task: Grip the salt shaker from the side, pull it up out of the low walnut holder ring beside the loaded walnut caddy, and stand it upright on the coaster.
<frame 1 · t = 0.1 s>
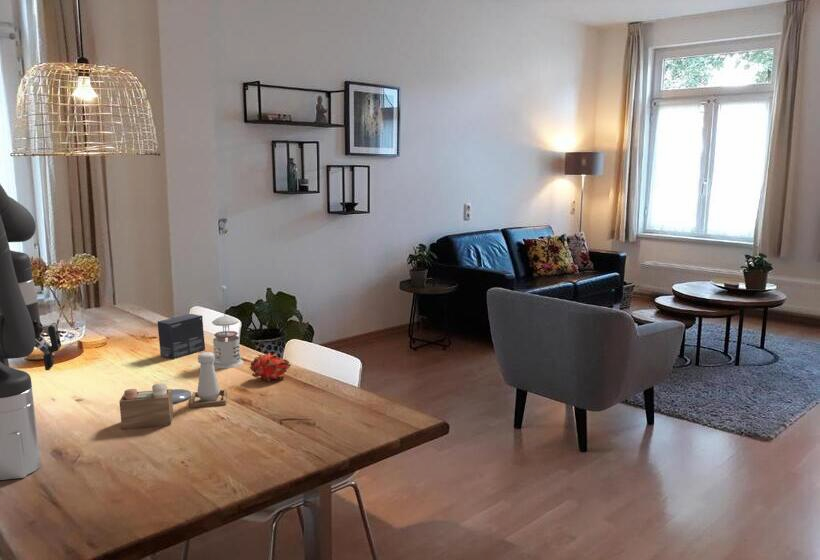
hand: (27, 370, 146), 17 cm above the table, tool pointing down, fingers open, 8 cm apart
caddy: (148, 422, 161), on the table
salt shaker: (209, 400, 175), resting in holder
holder: (209, 400, 175), on the table
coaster: (171, 397, 177), on the table
small box: (183, 353, 219), on the table
french press: (227, 363, 208), on the table
dragon fruit: (271, 379, 192), on the table
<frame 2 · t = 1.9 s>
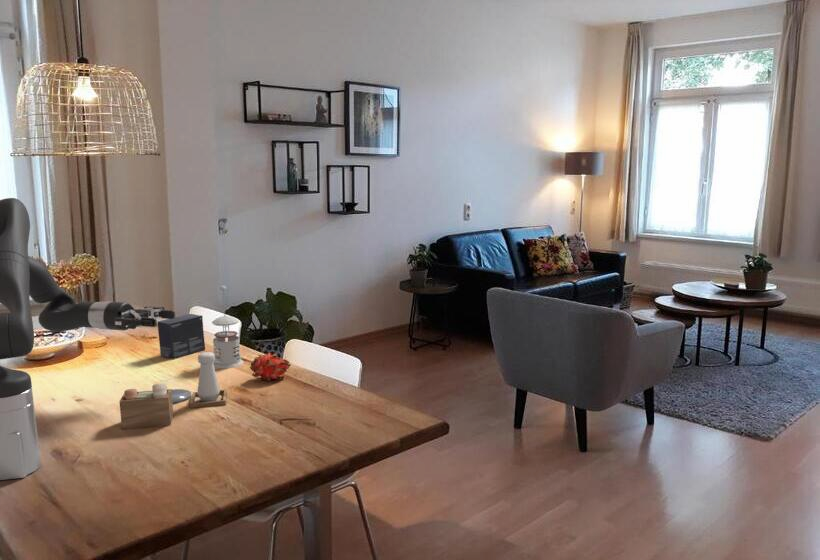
hand: (165, 318, 173), 22 cm above the table, tool horizontal, fingers open, 8 cm apart
nothing on the table moved.
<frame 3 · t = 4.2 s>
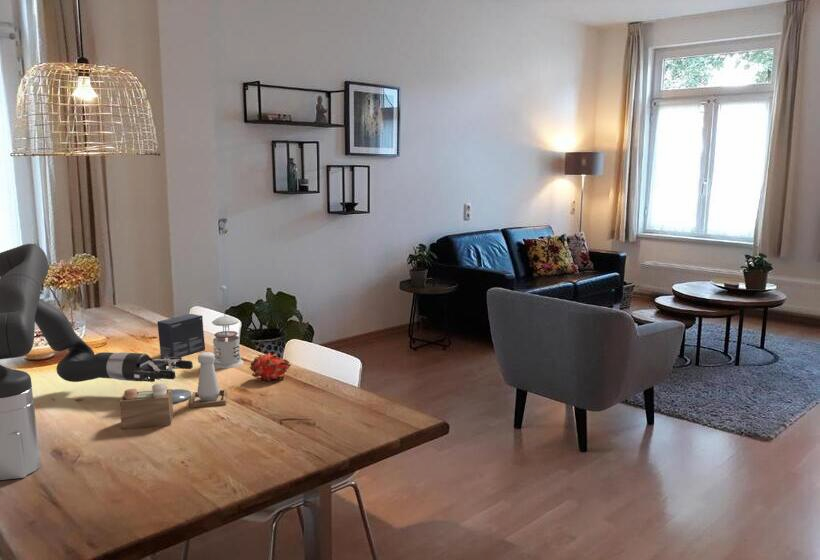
hand: (183, 369, 175), 8 cm above the table, tool horizontal, fingers open, 8 cm apart
nothing on the table moved.
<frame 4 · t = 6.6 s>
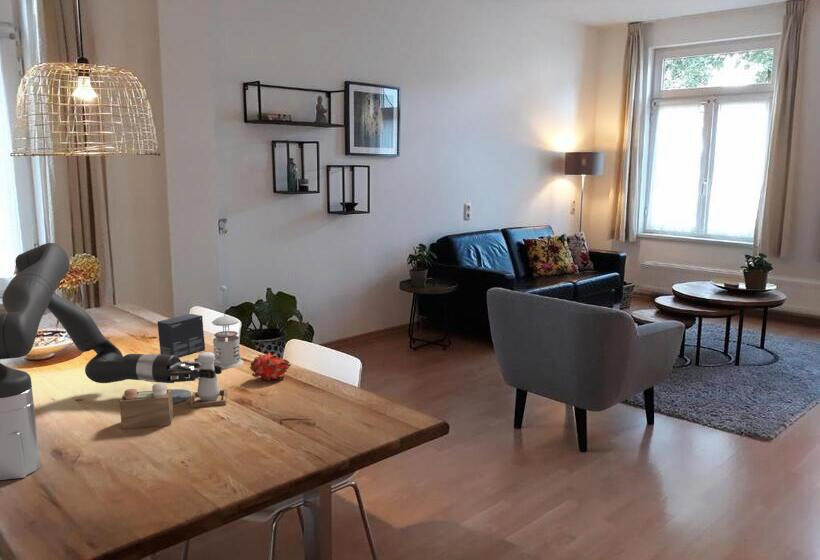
hand: (217, 371, 173), 8 cm above the table, tool horizontal, fingers closed on salt shaker, 3 cm apart
salt shaker: (209, 400, 175), resting in holder, touching gripper
everything else where it was.
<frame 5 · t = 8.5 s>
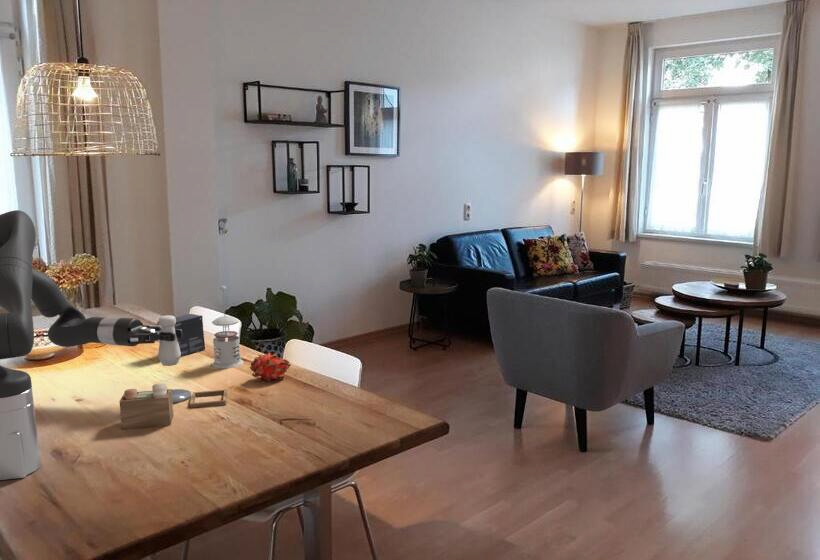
hand: (178, 335, 173), 18 cm above the table, tool horizontal, fingers closed on salt shaker, 3 cm apart
salt shaker: (170, 364, 175), point 9 cm above the table, touching gripper
everything else where it was.
when the fingers open (9 cm above the table, at t = 10.4 s): salt shaker stays where it is, resting on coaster.
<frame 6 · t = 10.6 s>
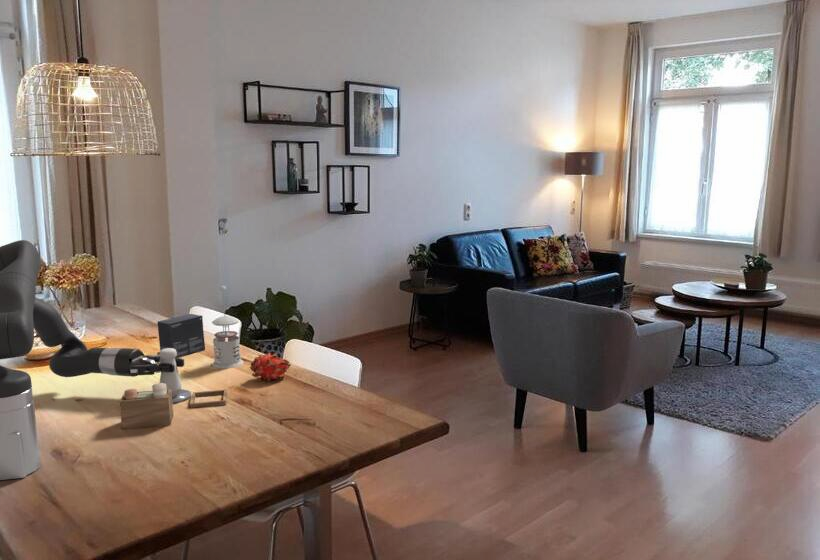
hand: (178, 365, 175), 9 cm above the table, tool horizontal, fingers open, 4 cm apart
salt shaker: (170, 396, 177), resting on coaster
everything else where it was.
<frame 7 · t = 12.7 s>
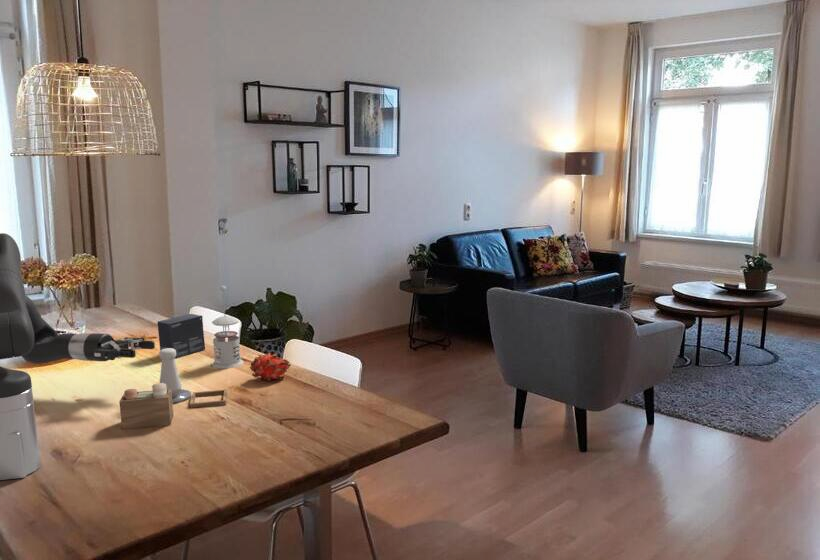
hand: (144, 349, 176), 13 cm above the table, tool horizontal, fingers open, 8 cm apart
nothing on the table moved.
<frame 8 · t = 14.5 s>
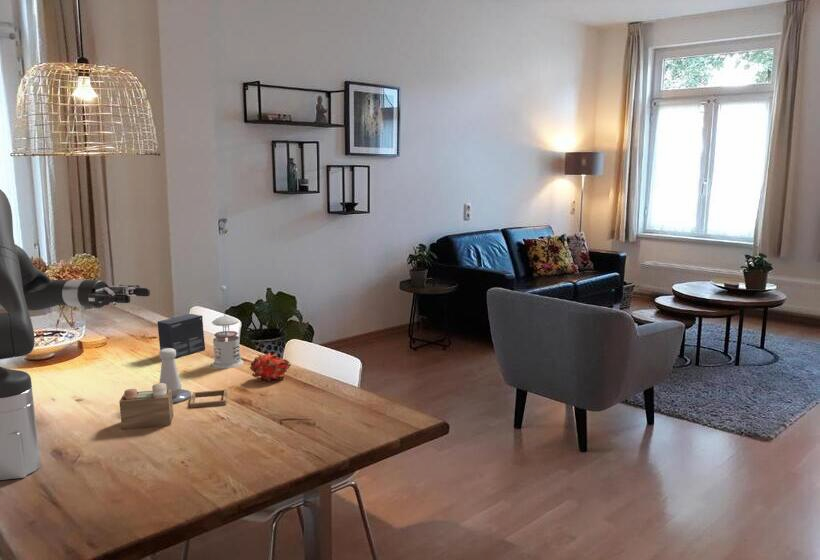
hand: (139, 295, 174), 28 cm above the table, tool horizontal, fingers open, 8 cm apart
nothing on the table moved.
at the end: salt shaker 0.2 cm from the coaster (horizontally); salt shaker tilted 0°; the gripper is holding nothing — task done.
